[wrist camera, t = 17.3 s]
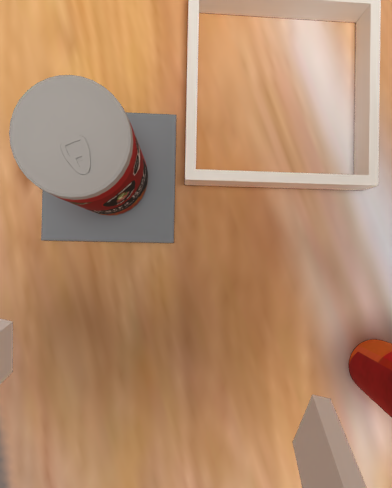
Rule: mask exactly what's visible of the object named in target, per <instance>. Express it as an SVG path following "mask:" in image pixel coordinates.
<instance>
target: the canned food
mask: <svg viewBox="0 0 392 488" xmlns="http://www.w3.org/2000/svg"><path fill="white" fill-rule="evenodd" d="M9 136H10V145H11V149H12V152H13V155H14V158H15V160H16V162H17V164H18V166H19V168H20V169H21V170H22V172H23V173H24V174H25V175H26V177H27V178H28V179H29V180H31V181H32V182H33V183H34V184H35V185H36V186H38V187H39V188H40V189H42V190H44V191H46V192H47V193H49V194H51V195H53V196H56V197H57V198H60V199H62V200H65V201H67V202H70V203H72V204H75V205H77V206H80V207H82V208H85V209H87V210H90V211H92V212H95V213H98V214H101V215H118V214H122V213H125V212H127V211H128V210H130V209H132V208H133V207H134V206H135V205H137V204H138V202H139V201H140V200H141V199H142V197H143V195H144V193H145V191H146V187H147V183H148V170H147V166H146V162H145V159H144V157H143V154H142V152H141V149H140V146H139V144H138V141H137V138H136V136H135V133H134V130H133V128H132V125H131V123H130V121H129V118H128V117H127V115H126V113H125V111H124V109H123V107H122V106H121V104H120V103H119V102H118V101H117V99H116V98H115V97H114V95H113V94H111V93H110V92H109V91H108V90H107V89H106V88H105V87H103V86H102V85H100V84H98V83H96V82H95V81H93V80H90V79H87V78H84V77H80V76H74V75H59V76H55V77H51V78H47V79H45V80H43V81H41V82H39V83H37V84H35V85H34V86H33V87H31V88H30V89H29V90H28V91H27V92H26V93H25V94H24V95H23V96H22V97H21V99H20V100H19V102H18V104H17V105H16V107H15V109H14V111H13V115H12V118H11V121H10V131H9Z"/></svg>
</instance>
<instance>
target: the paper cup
mask: <svg viewBox="0 0 392 488" xmlns="http://www.w3.org/2000/svg"><path fill="white" fill-rule="evenodd" d="M349 372H350V375H351V377H352V379H353V381H354V382H355V383H356V384H357V385H358V386H359V387H360V389H362V390H363V391H364V392H365V393H366V394H367V395H368V396H369V397H370V398H371V399H372V400H373V401H374V402H375V403H377V404H378V405H379V406H380V407H381V408H382V409H383V410H384V411H385V412H386V413H387V414H389V415H390V416H391V417H392V344H391V343H388V342H385V341H382V340H377V339H371V340H367V341H364V342H362V343H360V344H359V345H358V346H357V347H356V348H355V349H354V350H353V352H352V354H351V356H350V359H349Z"/></svg>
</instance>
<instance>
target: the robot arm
mask: <svg viewBox="0 0 392 488" xmlns="http://www.w3.org/2000/svg"><path fill="white" fill-rule="evenodd" d="M12 372H13V321H9V320H4V319H0V384H1V383H2V382H3V381H4V380H5V379H6V378H7V377H8V376H9V375H10V374H11V373H12ZM293 446H294V451H295V456H296V460H297V465H298V470H299V474H300V479H301V484H302V488H367V487H366V485H365V482H364V480H363V477H362V475H361V472H360V470H359V468H358V465H357V463H356V460H355V458H354V455H353V453H352V450H351V448H350V445H349V443H348V440H347V438H346V436H345V433H344V431H343V428H342V426H341V423H340V421H339V418H338V416H337V413H336V411H335V408H334V406H333V403H332V401H331V399H329V398H325V397H321V396H317V395H312V397H311V399H310V401H309V404H308V406H307V409H306V411H305V413H304V416H303V418H302V421H301V423H300V426H299V428H298V430H297V433H296V435H295V438H294V440H293Z"/></svg>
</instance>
